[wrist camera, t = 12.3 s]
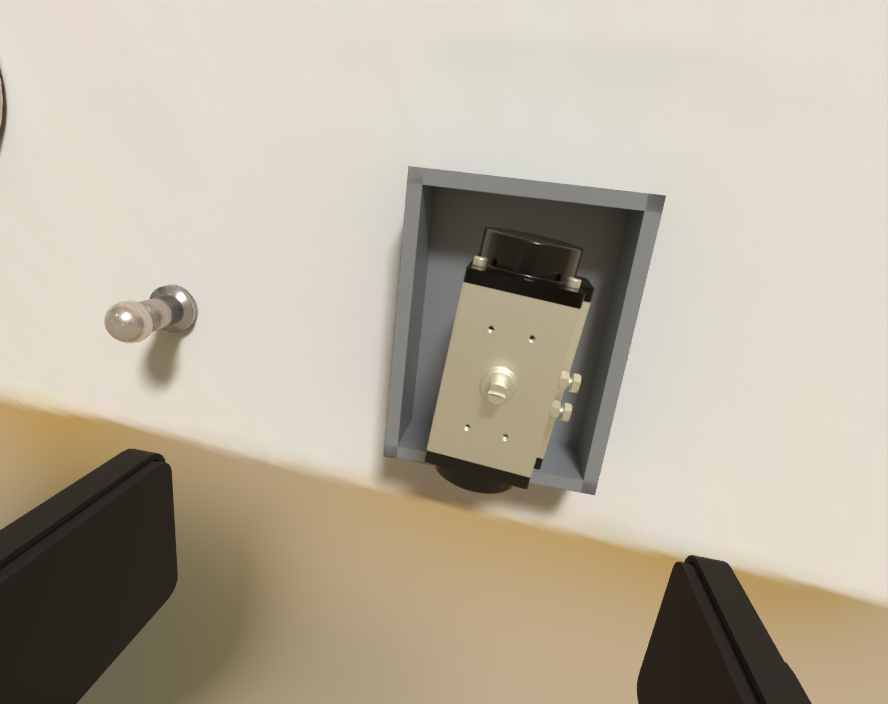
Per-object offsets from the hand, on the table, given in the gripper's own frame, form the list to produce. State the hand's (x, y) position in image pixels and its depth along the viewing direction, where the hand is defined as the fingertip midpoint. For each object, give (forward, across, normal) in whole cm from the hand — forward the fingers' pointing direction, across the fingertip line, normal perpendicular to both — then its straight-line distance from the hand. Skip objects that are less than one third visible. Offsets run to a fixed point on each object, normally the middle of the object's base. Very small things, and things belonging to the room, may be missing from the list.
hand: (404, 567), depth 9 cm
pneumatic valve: (+23, -2, +1) cm, 23 cm away
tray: (+24, -2, +1) cm, 24 cm away
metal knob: (+24, +21, +4) cm, 32 cm away
